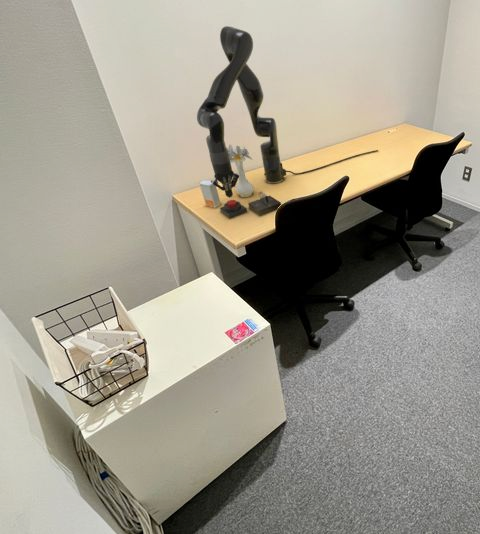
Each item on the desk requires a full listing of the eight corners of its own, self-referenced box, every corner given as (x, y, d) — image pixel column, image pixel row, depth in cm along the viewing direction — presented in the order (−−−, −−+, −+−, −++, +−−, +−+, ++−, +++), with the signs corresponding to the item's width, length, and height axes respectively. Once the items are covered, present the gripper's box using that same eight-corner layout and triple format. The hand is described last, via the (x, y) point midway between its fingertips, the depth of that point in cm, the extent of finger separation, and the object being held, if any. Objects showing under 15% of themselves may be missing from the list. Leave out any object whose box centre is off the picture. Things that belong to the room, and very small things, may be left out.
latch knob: (269, 204, 157) (267, 195, 154) (266, 205, 156) (264, 196, 153) (262, 200, 160) (261, 191, 157) (260, 201, 159) (258, 192, 156)
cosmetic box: (205, 206, 161) (198, 183, 153) (211, 202, 164) (204, 179, 156) (215, 208, 159) (209, 185, 152) (221, 204, 162) (215, 181, 155)
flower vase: (246, 185, 179) (236, 138, 164) (265, 196, 169) (256, 147, 154) (224, 192, 172) (211, 144, 156) (242, 204, 162) (231, 154, 146)
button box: (237, 205, 161) (236, 198, 159) (247, 212, 157) (245, 204, 154) (220, 211, 157) (218, 204, 154) (230, 218, 152) (227, 211, 149)
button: (234, 202, 157) (233, 198, 156) (238, 205, 154) (238, 202, 153) (225, 205, 154) (224, 201, 153) (230, 208, 152) (229, 205, 151)
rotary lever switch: (270, 200, 166) (269, 195, 164) (281, 207, 160) (280, 202, 158) (249, 208, 159) (248, 202, 157) (260, 216, 154) (259, 210, 152)
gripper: (209, 167, 135) (220, 204, 146) (238, 158, 142) (246, 195, 153) (201, 161, 139) (212, 198, 150) (230, 154, 146) (238, 189, 157)
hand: (229, 196), depth 152 cm, fingers closed
